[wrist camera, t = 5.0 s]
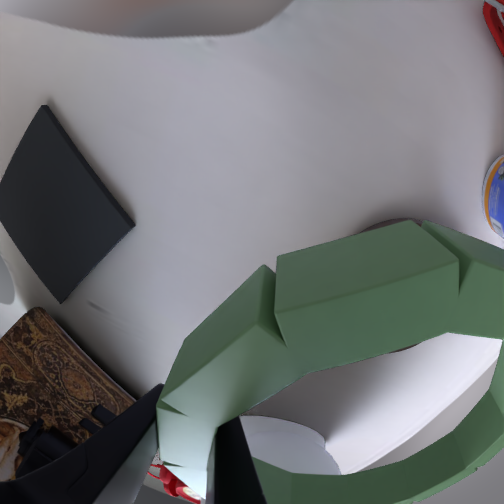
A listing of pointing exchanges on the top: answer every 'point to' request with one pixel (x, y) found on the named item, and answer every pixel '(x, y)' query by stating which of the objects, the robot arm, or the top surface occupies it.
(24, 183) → the mat
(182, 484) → the alarm clock
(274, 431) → the figurine
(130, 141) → the top surface
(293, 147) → the top surface
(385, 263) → the ring
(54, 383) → the book
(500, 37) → the tracker holder
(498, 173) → the pill bottle
